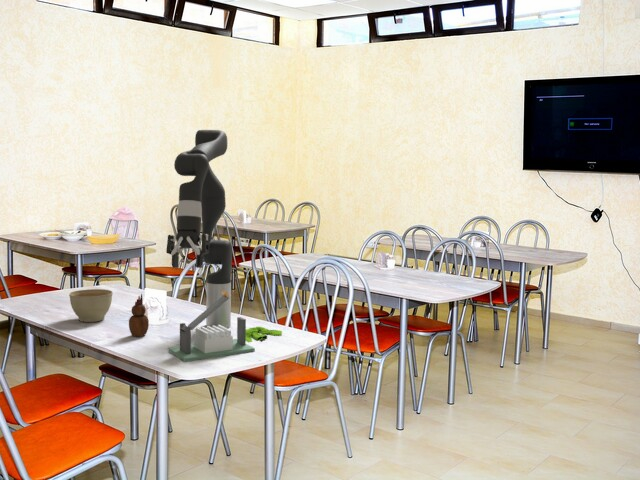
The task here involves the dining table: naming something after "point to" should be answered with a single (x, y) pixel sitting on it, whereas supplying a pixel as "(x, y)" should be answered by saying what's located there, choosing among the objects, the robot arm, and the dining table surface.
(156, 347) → the dining table surface
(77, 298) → the planter bowl
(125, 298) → the dining table surface
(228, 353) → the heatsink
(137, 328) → the wooden figurine
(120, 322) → the dining table surface
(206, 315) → the wood-capped grey post
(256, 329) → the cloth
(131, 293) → the dining table surface
